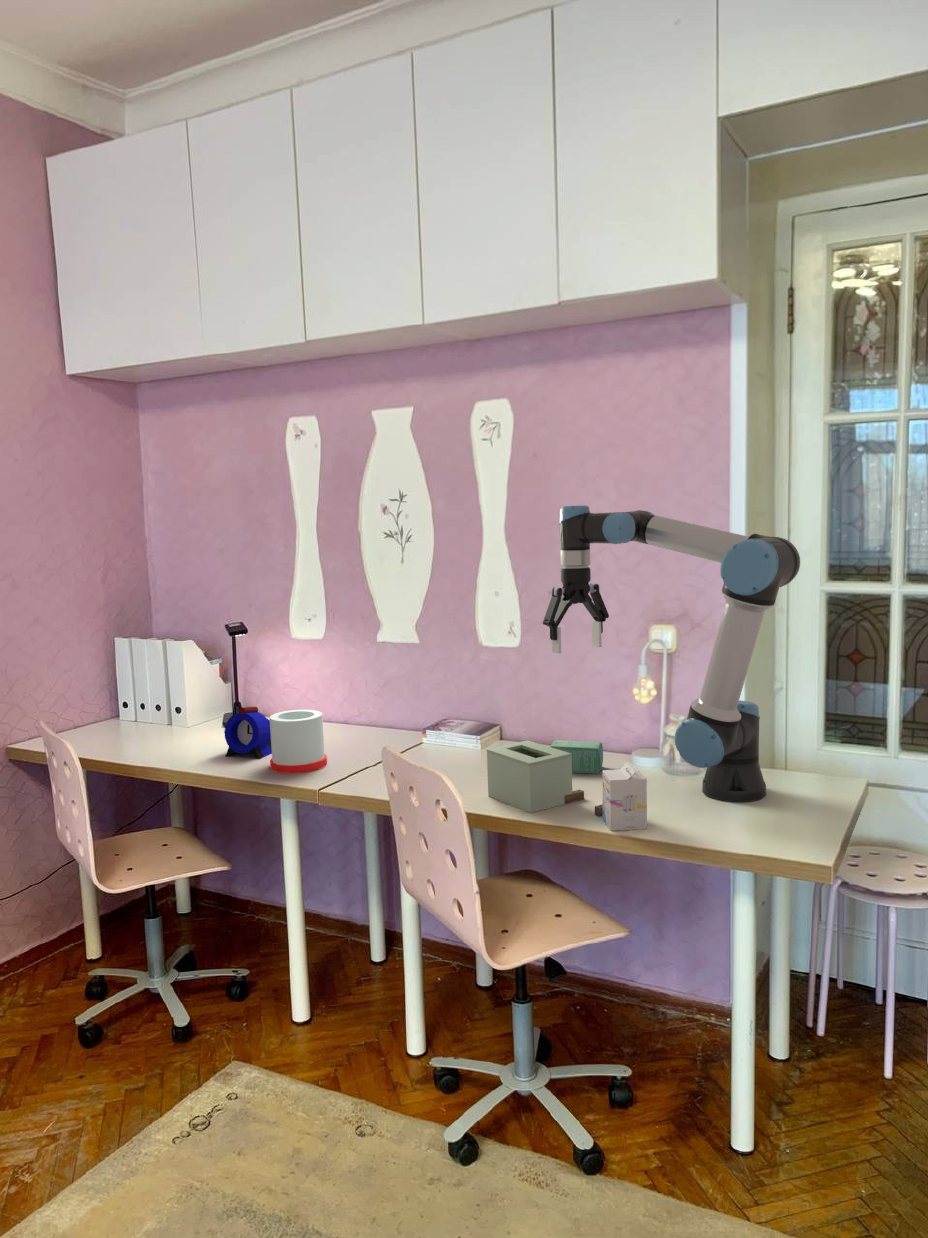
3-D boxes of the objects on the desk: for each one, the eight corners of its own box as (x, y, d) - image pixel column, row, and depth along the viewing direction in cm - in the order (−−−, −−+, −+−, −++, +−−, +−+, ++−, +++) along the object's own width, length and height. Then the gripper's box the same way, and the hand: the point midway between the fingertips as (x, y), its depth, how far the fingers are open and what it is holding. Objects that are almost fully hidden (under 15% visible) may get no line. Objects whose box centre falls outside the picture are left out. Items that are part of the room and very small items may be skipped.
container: (259, 770, 268) (255, 719, 267) (292, 756, 283) (289, 707, 281) (306, 775, 262) (303, 723, 260) (337, 760, 276) (335, 711, 274)
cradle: (618, 811, 223) (618, 802, 223) (599, 816, 220) (599, 808, 219) (579, 797, 234) (579, 789, 234) (561, 802, 231) (561, 794, 231)
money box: (572, 801, 231) (571, 753, 230) (530, 813, 224) (529, 763, 222) (529, 785, 245) (527, 740, 244) (488, 796, 238) (486, 749, 236)
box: (600, 774, 253) (599, 747, 252) (550, 773, 256) (549, 745, 256) (603, 767, 260) (603, 740, 259) (554, 765, 264) (553, 739, 263)
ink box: (601, 818, 218) (600, 762, 217) (637, 816, 219) (637, 760, 217) (610, 831, 210) (609, 772, 208) (648, 829, 210) (647, 770, 209)
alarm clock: (223, 757, 284) (220, 708, 282) (247, 747, 295) (244, 699, 293) (258, 760, 279) (255, 710, 278) (281, 749, 291) (278, 701, 289)
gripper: (601, 563, 251) (603, 642, 253) (527, 569, 237) (529, 653, 239) (621, 564, 245) (622, 645, 247) (546, 570, 231) (548, 657, 233)
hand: (577, 649), depth 243 cm, fingers open, 13 cm apart
